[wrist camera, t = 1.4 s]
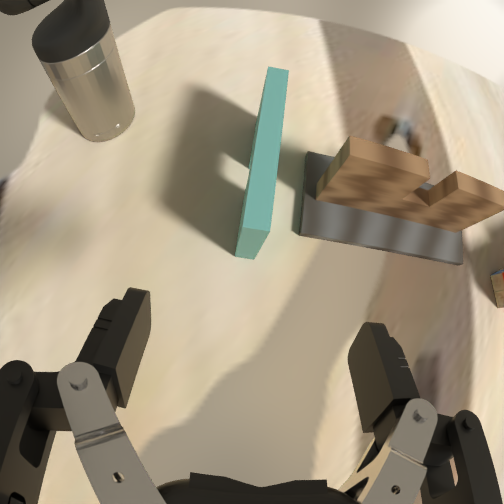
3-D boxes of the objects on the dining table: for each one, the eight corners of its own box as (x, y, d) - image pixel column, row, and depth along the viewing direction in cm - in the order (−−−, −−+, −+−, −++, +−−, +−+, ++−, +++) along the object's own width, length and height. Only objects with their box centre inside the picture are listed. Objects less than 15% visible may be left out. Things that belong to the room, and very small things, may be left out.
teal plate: (254, 259, 39) (269, 231, 28) (234, 256, 39) (242, 227, 28) (272, 126, 44) (288, 70, 33) (256, 123, 44) (268, 66, 32)
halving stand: (299, 235, 41) (334, 195, 28) (305, 155, 44) (335, 98, 31) (458, 265, 43) (517, 245, 30) (454, 196, 46) (504, 164, 33)
